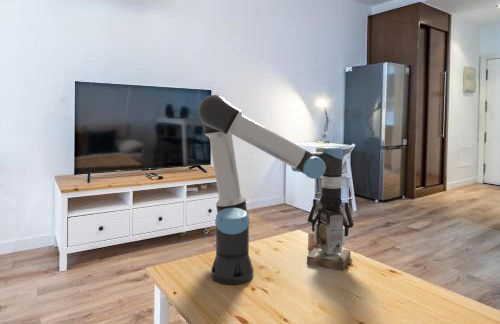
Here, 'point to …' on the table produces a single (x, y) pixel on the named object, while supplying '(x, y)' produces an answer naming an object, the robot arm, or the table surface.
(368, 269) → the table surface
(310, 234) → the peach glossy stubby part
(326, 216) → the coffee box
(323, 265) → the walnut picture frame
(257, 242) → the table surface
